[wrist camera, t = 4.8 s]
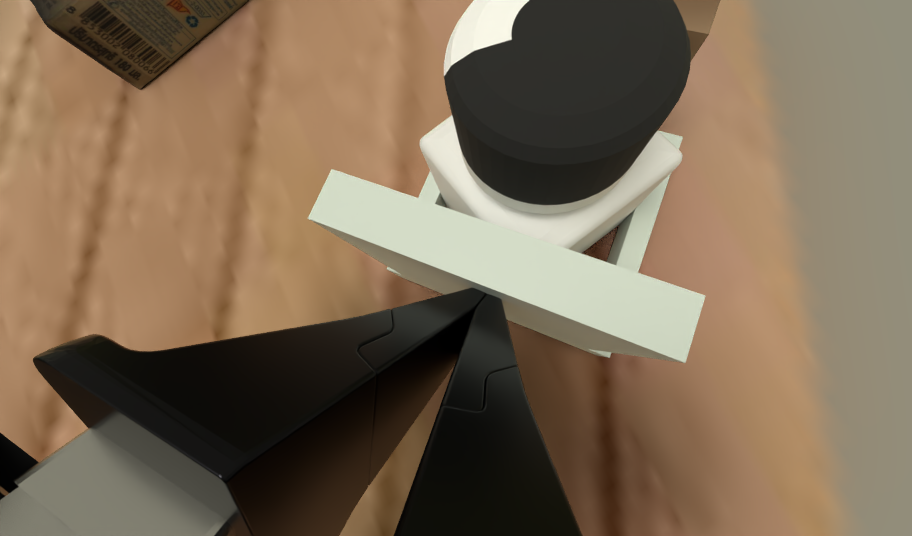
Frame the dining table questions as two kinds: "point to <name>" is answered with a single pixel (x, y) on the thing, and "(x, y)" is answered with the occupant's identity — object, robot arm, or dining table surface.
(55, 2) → the beverage carton
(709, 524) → the dining table surface
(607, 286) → the white angle bracket
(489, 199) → the medicine bottle
